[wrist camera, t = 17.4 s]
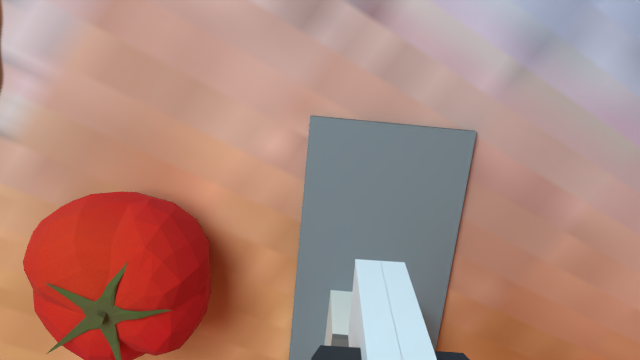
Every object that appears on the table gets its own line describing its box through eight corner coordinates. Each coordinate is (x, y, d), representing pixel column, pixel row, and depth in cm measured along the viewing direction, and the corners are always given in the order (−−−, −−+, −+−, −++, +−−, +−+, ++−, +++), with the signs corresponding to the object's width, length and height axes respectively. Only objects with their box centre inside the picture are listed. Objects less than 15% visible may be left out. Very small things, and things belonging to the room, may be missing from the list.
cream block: (414, 424, 37) (399, 365, 44) (428, 346, 35) (411, 296, 42) (323, 417, 37) (322, 359, 44) (332, 338, 35) (330, 289, 42)
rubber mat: (474, 130, 38) (476, 132, 38) (420, 419, 46) (421, 424, 46) (310, 115, 38) (310, 116, 37) (284, 409, 46) (284, 413, 45)
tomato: (172, 334, 44) (122, 435, 32) (44, 244, 41) (-57, 320, 30) (258, 239, 41) (235, 314, 30) (127, 137, 39) (49, 177, 27)
